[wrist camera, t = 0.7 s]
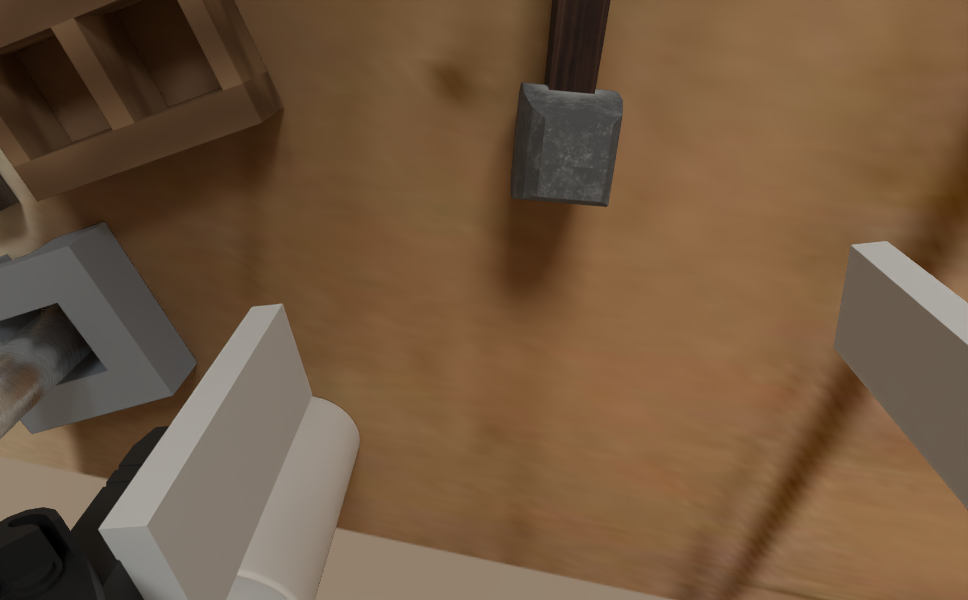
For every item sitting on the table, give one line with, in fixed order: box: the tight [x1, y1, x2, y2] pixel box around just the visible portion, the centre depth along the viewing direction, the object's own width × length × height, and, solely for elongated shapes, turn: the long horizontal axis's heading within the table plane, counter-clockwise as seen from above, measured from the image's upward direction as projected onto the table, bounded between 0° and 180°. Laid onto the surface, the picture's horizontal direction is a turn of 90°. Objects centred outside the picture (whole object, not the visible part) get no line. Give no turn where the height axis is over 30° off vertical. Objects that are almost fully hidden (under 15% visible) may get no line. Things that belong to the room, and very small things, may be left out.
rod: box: [0, 303, 92, 439], centre depth 39 cm, size 4×4×15 cm
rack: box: [0, 0, 284, 201], centre depth 35 cm, size 10×15×4 cm, turn 108°
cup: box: [226, 396, 360, 600], centre depth 44 cm, size 8×8×16 cm
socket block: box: [0, 222, 197, 434], centre depth 44 cm, size 12×12×4 cm
